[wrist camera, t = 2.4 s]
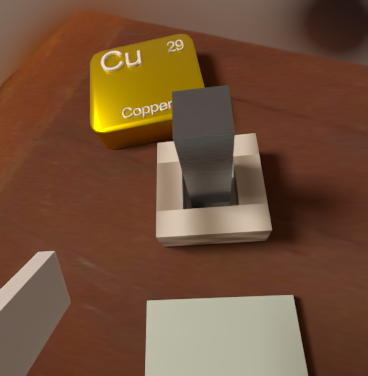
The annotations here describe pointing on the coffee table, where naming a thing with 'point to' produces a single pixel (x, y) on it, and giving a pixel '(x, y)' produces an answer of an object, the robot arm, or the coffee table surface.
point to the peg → (205, 143)
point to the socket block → (213, 216)
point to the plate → (224, 337)
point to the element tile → (140, 89)
